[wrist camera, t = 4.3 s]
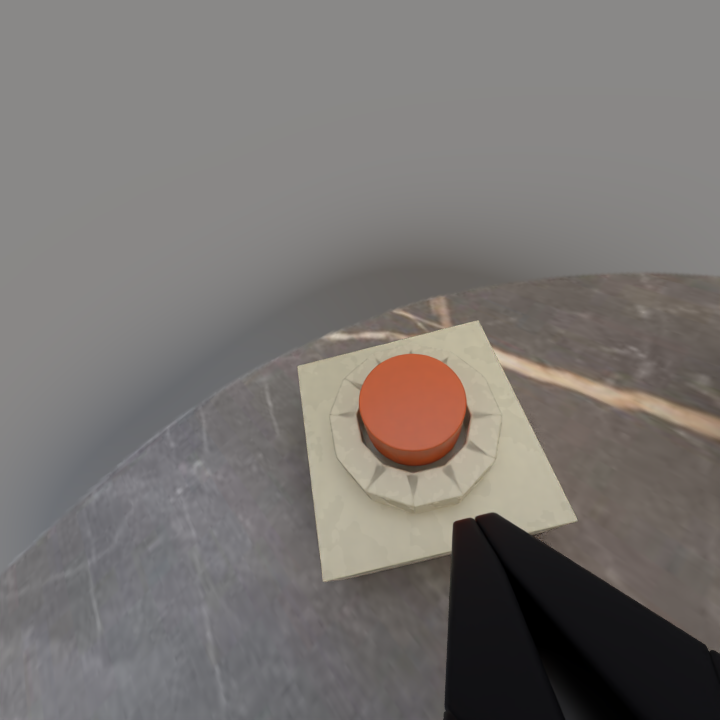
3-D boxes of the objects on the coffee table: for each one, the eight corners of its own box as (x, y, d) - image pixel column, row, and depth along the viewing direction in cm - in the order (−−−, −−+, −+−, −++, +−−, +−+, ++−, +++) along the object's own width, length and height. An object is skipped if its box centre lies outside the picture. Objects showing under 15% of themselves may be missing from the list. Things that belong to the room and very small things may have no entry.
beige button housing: (542, 532, 17) (599, 514, 12) (345, 579, 17) (309, 583, 12) (468, 364, 22) (483, 297, 17) (318, 401, 23) (285, 347, 17)
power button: (476, 452, 14) (484, 435, 12) (377, 477, 14) (370, 463, 12) (443, 367, 16) (445, 342, 14) (357, 389, 16) (349, 366, 14)
